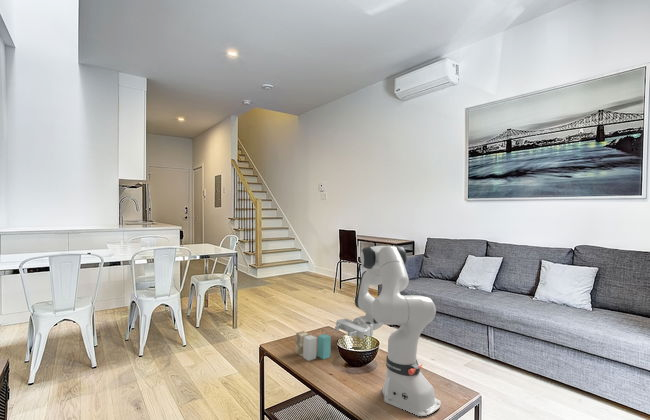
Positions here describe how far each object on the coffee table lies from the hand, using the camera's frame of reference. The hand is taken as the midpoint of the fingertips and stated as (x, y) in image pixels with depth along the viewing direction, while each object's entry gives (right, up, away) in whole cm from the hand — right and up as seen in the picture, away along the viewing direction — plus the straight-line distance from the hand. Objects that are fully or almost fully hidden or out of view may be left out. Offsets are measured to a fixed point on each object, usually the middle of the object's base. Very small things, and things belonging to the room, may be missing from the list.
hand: (342, 331), depth 171 cm
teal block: (-9, -9, -8) cm, 16 cm away
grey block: (-16, -9, -10) cm, 21 cm away
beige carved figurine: (-20, -9, -6) cm, 23 cm away
